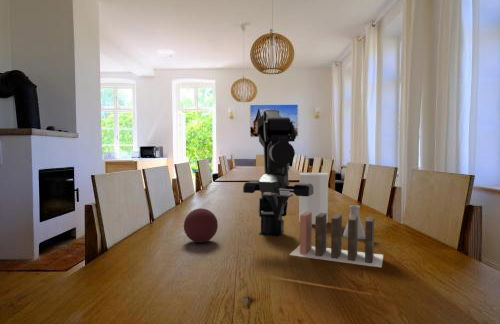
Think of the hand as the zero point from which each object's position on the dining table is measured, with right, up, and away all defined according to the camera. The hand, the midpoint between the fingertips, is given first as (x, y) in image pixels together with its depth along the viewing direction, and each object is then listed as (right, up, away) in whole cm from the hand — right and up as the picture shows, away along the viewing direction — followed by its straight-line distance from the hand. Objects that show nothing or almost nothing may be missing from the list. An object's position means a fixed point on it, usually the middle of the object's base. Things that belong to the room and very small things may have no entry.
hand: (277, 219), depth 91 cm
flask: (+25, -8, +12) cm, 29 cm away
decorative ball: (-22, -8, +7) cm, 25 cm away
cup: (+17, -7, +34) cm, 39 cm away
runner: (+15, -8, -6) cm, 18 cm away
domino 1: (+7, -8, -3) cm, 11 cm away
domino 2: (+11, -8, -5) cm, 14 cm away
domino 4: (+18, -8, -8) cm, 22 cm away
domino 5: (+22, -8, -10) cm, 25 cm away
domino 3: (+15, -8, -6) cm, 18 cm away
